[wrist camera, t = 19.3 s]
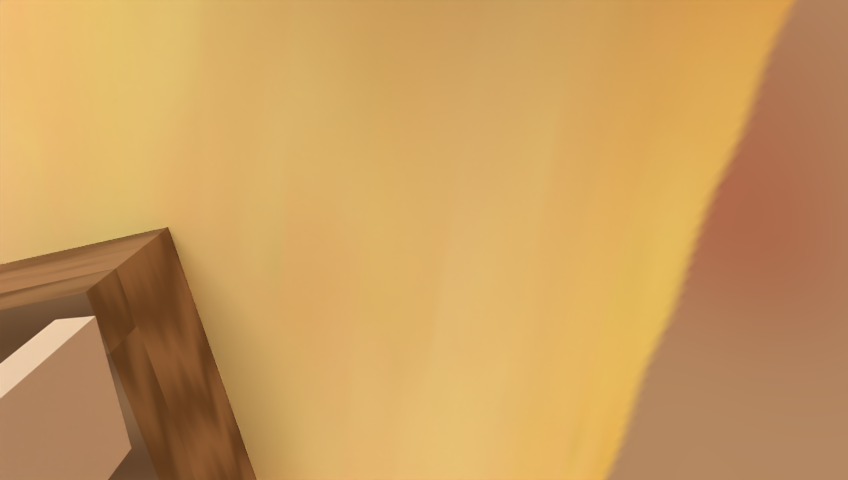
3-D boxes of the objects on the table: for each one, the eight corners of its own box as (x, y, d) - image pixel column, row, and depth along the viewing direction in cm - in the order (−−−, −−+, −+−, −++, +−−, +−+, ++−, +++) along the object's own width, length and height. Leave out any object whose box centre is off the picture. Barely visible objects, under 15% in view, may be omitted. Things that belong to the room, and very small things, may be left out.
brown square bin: (-105, 287, 54) (-254, 364, 43) (169, 225, 51) (85, 291, 40) (9, 531, 59) (-97, 654, 48) (261, 487, 57) (209, 607, 46)
